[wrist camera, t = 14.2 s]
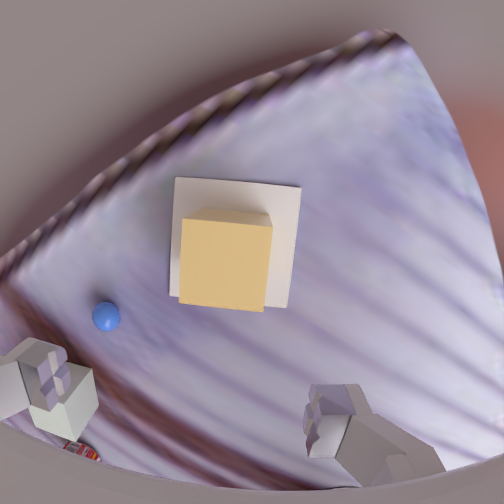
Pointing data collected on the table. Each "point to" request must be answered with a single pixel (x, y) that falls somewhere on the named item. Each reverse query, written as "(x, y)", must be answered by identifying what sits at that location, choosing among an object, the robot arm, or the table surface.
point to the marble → (106, 316)
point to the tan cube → (225, 259)
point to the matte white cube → (70, 406)
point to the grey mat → (242, 200)
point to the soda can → (82, 450)
